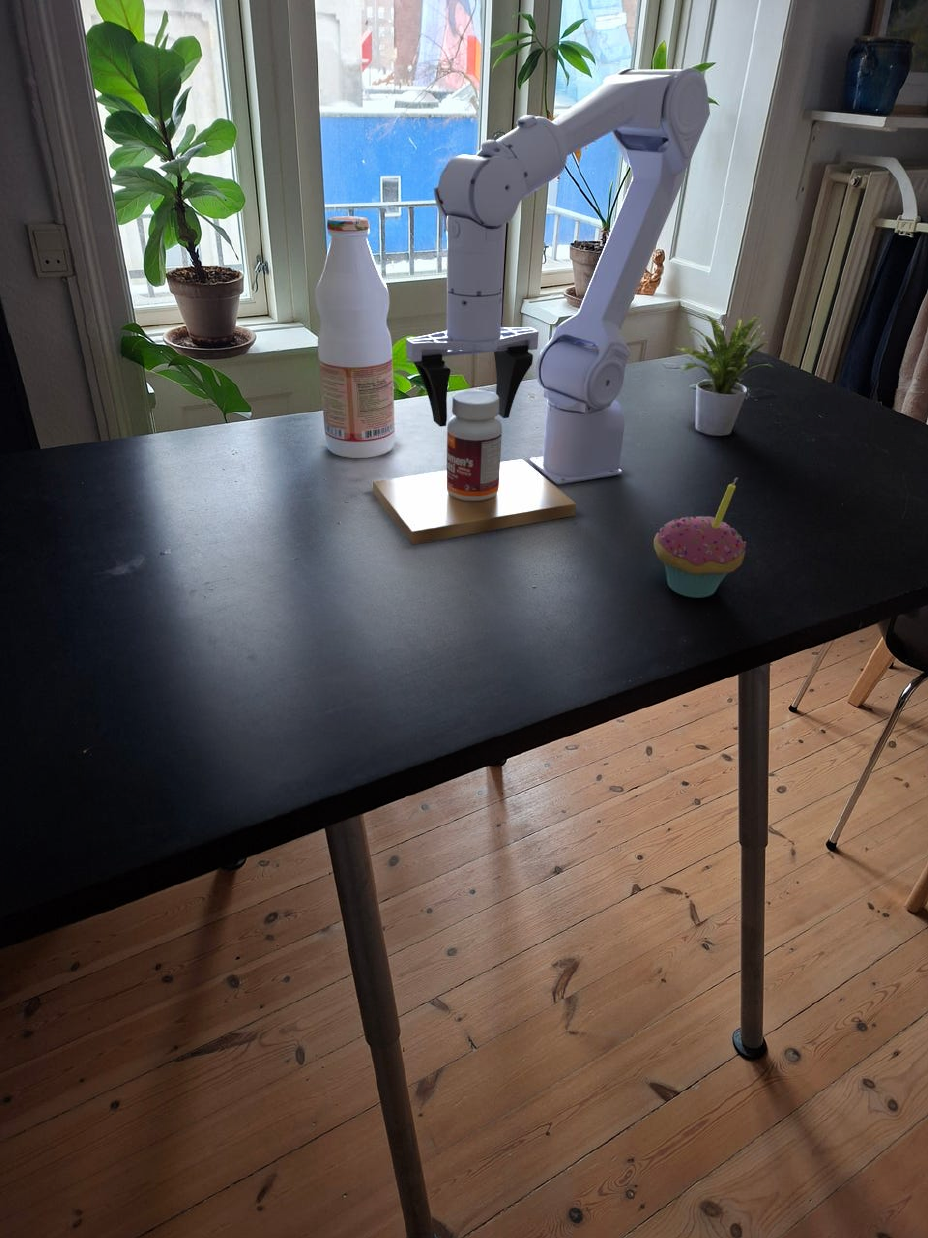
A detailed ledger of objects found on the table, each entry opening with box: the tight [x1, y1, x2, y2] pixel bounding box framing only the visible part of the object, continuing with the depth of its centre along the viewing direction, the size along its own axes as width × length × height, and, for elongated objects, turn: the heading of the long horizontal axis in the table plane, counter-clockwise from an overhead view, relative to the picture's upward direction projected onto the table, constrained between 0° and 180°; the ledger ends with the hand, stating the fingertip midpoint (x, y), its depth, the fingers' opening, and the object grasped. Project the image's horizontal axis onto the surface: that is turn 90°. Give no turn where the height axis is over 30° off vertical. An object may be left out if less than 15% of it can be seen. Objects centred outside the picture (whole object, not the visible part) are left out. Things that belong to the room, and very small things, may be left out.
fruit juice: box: [314, 215, 396, 459], centre depth 102 cm, size 9×9×28 cm
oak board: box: [372, 458, 577, 546], centre depth 94 cm, size 20×14×2 cm
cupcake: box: [653, 477, 747, 599], centre depth 77 cm, size 9×8×12 cm
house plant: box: [674, 312, 775, 436], centre depth 114 cm, size 14×14×16 cm
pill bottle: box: [446, 389, 503, 501], centre depth 91 cm, size 6×6×11 cm
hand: (471, 419), depth 90 cm, fingers open, 7 cm apart
